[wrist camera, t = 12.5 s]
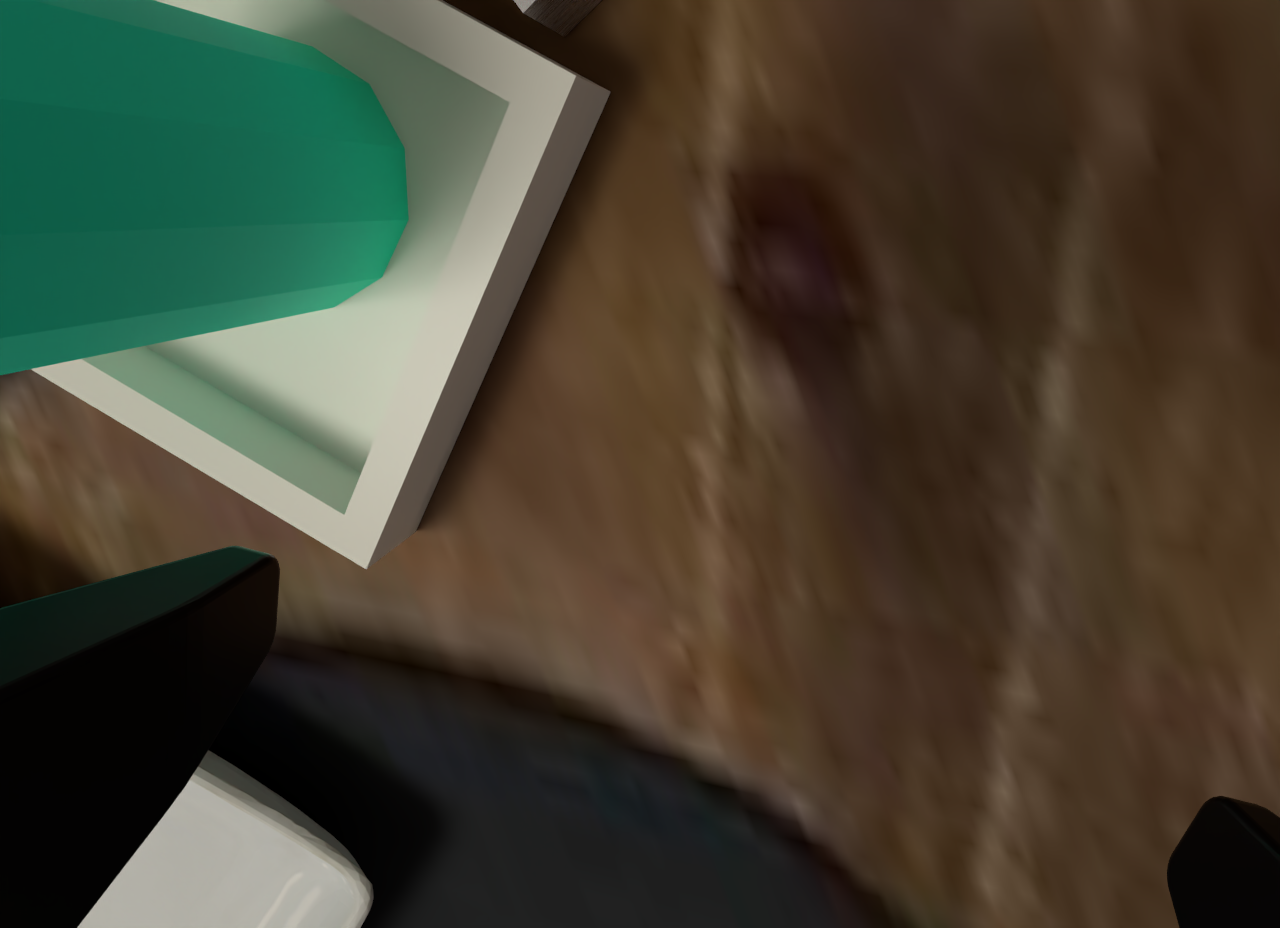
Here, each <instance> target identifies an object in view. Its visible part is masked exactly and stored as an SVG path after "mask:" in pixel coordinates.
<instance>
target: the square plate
mask: <svg viewBox="0 0 1280 928" xmlns="http://www.w3.org/2000/svg"><path fill="white" fill-rule="evenodd" d="M373 898H374V896H373V888H372V884H371V883H370V881H369V880H368V879H367V877H366V876H365V874H364V873H363V871H362V870H361V868H360V866H359V865H358V863H357V862H356V860H355V859H354V857H353V856H352V855H351V854H350V852H349V851H348V850H347V849H346V848H345V847H344V846H343V845H342V844H341V843H340V842H339V841H338V840H337V839H336V838H335V837H334V836H332V835H331V834H330V833H329V832H327V831H326V830H325V829H323V828H322V827H321V826H320V825H318V824H317V823H316V822H314V821H313V820H312V819H310V818H309V817H308V816H307V815H305V814H304V813H303V812H301V811H300V810H299V809H298V808H296V807H295V806H293V805H292V804H291V803H289V802H288V801H286V800H285V799H284V798H282V797H281V796H279V795H278V794H276V793H275V792H273V791H272V790H270V789H269V788H267V787H266V786H264V785H263V784H261V783H260V782H258V781H257V780H255V779H254V778H252V777H251V776H249V775H248V774H246V773H245V772H243V771H242V770H240V769H239V768H237V767H236V766H234V765H232V764H231V763H229V762H227V761H226V760H224V759H222V758H221V757H219V756H217V755H216V754H214V753H213V752H211V751H209V750H208V752H207V753H206V755H205V756H204V758H203V760H202V761H201V763H200V765H199V766H198V768H197V769H196V771H195V772H194V774H193V775H192V777H191V778H190V780H189V781H188V783H187V785H186V786H185V788H184V789H183V790H182V792H181V793H180V794H179V796H178V797H177V798H176V800H175V801H174V803H173V804H172V805H171V807H170V808H169V809H168V811H167V812H166V813H165V815H164V816H163V817H162V819H161V820H160V821H159V822H158V824H157V825H156V826H155V828H154V829H153V830H152V831H151V833H150V834H149V835H148V837H147V838H146V839H145V841H144V842H143V843H142V844H141V846H140V847H139V848H138V850H137V851H136V852H135V853H134V855H133V856H132V857H131V859H130V860H129V861H128V863H127V864H126V865H125V866H124V868H123V869H122V870H121V872H120V873H119V874H118V876H117V877H116V878H115V879H114V881H113V882H112V883H111V885H110V886H109V887H108V888H107V890H106V891H105V892H104V894H103V895H102V896H101V898H100V899H99V900H98V901H97V903H96V904H95V905H94V907H93V908H92V909H91V910H90V912H89V913H88V914H87V916H86V917H85V918H84V920H83V921H82V922H81V923H80V925H79V926H78V927H77V928H361V926H362V924H363V922H364V921H365V919H366V917H367V915H368V913H369V911H370V909H371V906H372V903H373Z"/></svg>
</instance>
